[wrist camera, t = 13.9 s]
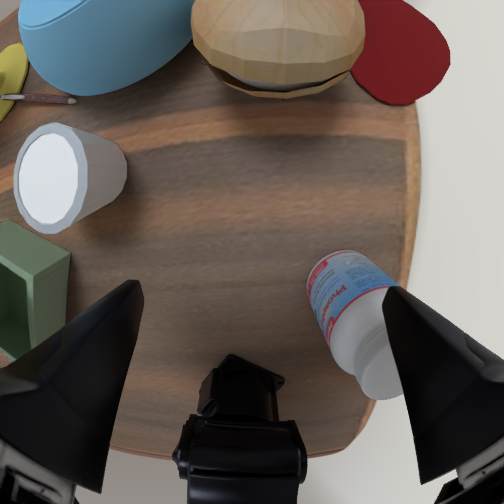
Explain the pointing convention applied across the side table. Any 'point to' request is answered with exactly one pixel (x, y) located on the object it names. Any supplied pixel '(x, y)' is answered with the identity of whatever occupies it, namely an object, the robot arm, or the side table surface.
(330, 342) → the pill bottle
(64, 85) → the sugar bowl
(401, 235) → the side table surface
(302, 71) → the sculpture
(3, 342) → the chest
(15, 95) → the pen
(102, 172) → the shot glass
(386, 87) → the rounded triangle plectrum
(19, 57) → the candle
